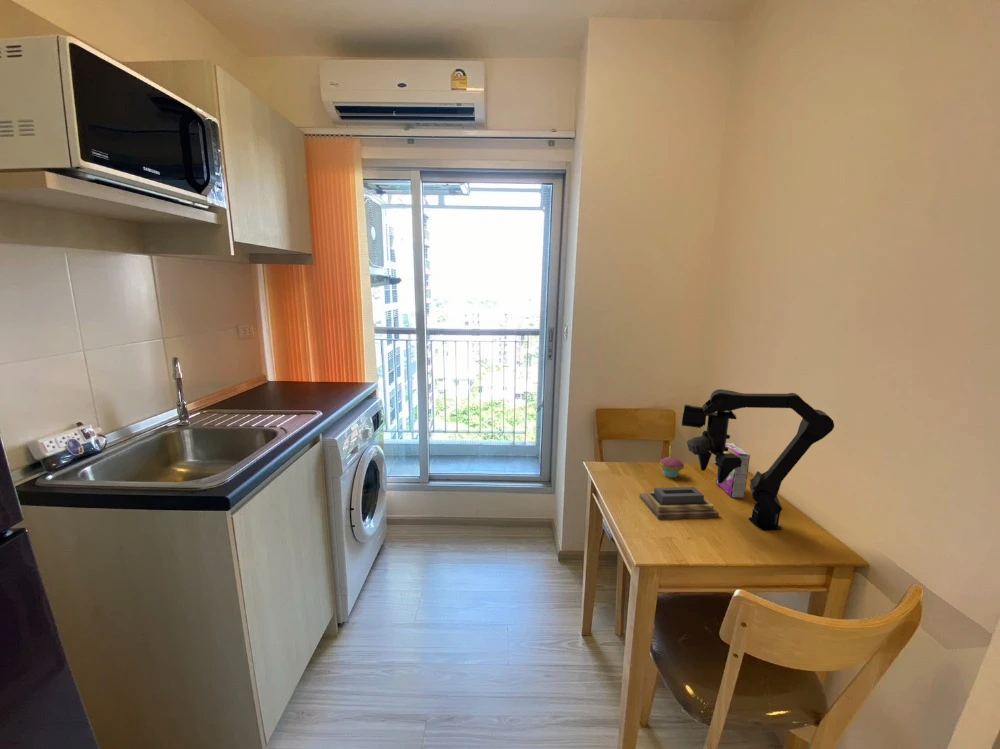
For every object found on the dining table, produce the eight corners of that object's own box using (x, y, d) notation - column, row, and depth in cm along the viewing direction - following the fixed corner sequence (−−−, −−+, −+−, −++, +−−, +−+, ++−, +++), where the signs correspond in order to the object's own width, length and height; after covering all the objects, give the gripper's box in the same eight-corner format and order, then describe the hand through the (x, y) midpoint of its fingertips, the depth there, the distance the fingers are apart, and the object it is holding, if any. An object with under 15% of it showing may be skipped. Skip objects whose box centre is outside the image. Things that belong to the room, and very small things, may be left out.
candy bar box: (714, 483, 155) (720, 442, 152) (728, 484, 155) (733, 442, 152) (730, 498, 144) (736, 454, 141) (745, 498, 144) (751, 454, 141)
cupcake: (654, 472, 164) (657, 443, 162) (671, 469, 167) (674, 441, 165) (670, 481, 156) (673, 451, 154) (687, 478, 159) (690, 448, 157)
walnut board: (694, 495, 145) (695, 488, 144) (718, 517, 131) (719, 508, 131) (639, 497, 143) (640, 489, 143) (657, 518, 130) (658, 510, 129)
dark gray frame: (692, 497, 141) (694, 486, 140) (702, 506, 135) (704, 495, 134) (653, 498, 139) (654, 487, 139) (661, 507, 134) (662, 496, 133)
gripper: (677, 421, 137) (672, 465, 140) (709, 441, 119) (703, 490, 122) (709, 420, 138) (703, 464, 141) (746, 440, 120) (739, 490, 123)
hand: (711, 476), depth 132 cm, fingers open, 9 cm apart
